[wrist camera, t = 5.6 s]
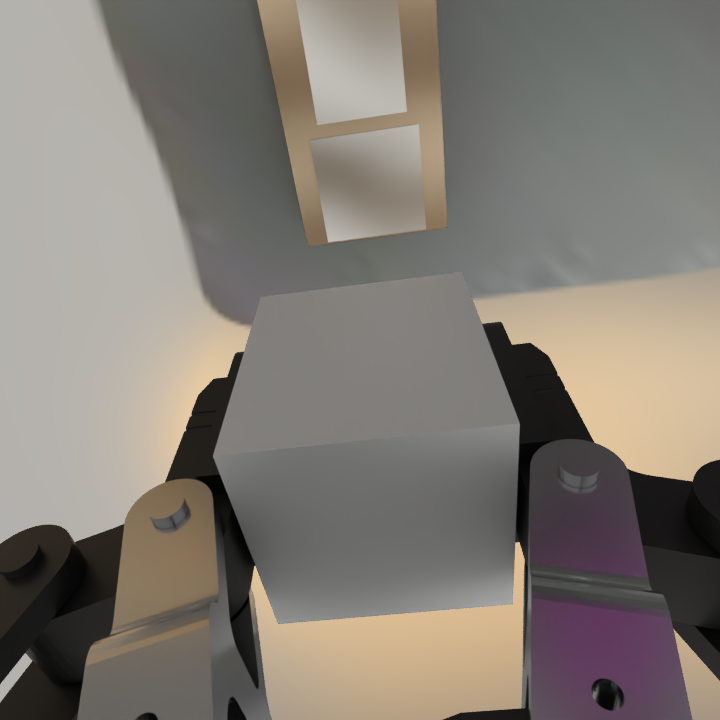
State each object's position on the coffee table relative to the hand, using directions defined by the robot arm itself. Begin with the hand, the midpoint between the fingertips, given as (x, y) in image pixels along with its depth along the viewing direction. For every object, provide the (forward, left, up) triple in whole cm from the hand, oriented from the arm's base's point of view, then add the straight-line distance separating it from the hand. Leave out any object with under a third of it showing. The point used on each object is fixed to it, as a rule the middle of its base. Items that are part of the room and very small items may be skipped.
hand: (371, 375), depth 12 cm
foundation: (-5, 0, -16) cm, 17 cm away
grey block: (0, 0, 0) cm, 0 cm away
